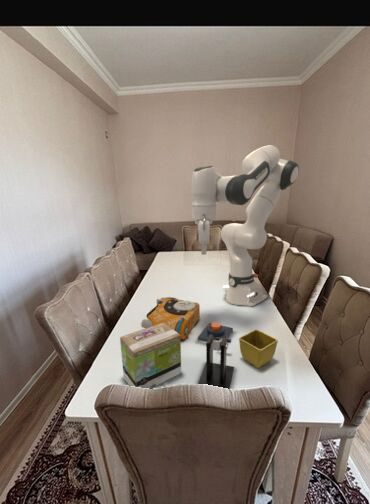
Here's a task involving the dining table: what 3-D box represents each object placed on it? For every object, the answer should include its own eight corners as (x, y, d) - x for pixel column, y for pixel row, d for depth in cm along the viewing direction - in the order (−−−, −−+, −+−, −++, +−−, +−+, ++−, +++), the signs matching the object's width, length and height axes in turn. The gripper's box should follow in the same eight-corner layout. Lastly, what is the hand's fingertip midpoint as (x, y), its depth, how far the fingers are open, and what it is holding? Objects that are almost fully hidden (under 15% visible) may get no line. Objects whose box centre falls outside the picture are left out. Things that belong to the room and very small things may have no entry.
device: (129, 317, 97) (163, 290, 124) (131, 335, 100) (164, 305, 126) (183, 326, 89) (207, 295, 116) (184, 346, 92) (207, 311, 118)
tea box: (137, 399, 68) (133, 352, 64) (123, 378, 76) (118, 336, 72) (182, 375, 77) (181, 333, 72) (165, 359, 85) (163, 320, 80)
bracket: (206, 364, 82) (206, 327, 77) (234, 369, 79) (235, 331, 75) (196, 391, 71) (195, 349, 67) (228, 398, 68) (229, 355, 64)
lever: (216, 342, 85) (216, 335, 85) (230, 344, 83) (231, 337, 83) (206, 348, 70) (207, 340, 71) (224, 351, 69) (225, 343, 69)
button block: (209, 327, 104) (209, 318, 103) (232, 332, 100) (233, 323, 99) (197, 342, 94) (197, 332, 93) (223, 348, 90) (223, 339, 88)
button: (213, 325, 98) (213, 321, 98) (221, 327, 97) (221, 323, 96) (209, 330, 95) (209, 326, 95) (218, 332, 94) (218, 328, 93)
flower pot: (258, 375, 76) (260, 350, 73) (237, 361, 83) (238, 337, 80) (276, 364, 81) (278, 340, 78) (254, 351, 88) (256, 328, 85)
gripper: (214, 216, 81) (213, 257, 85) (211, 212, 100) (210, 246, 104) (194, 216, 81) (194, 258, 85) (195, 212, 100) (195, 246, 105)
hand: (203, 251), depth 95 cm, fingers open, 8 cm apart
